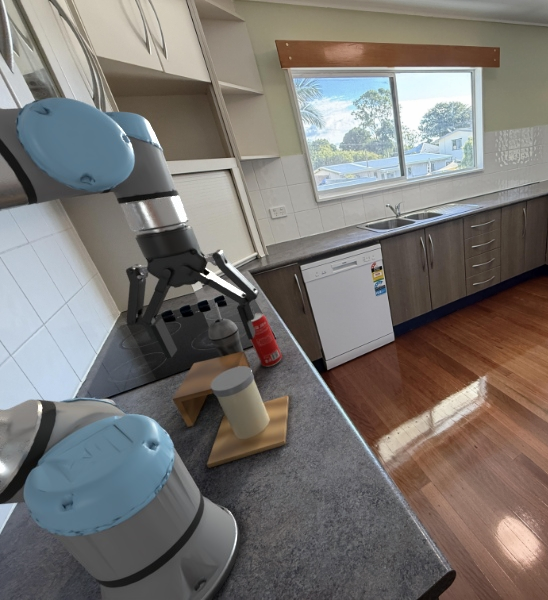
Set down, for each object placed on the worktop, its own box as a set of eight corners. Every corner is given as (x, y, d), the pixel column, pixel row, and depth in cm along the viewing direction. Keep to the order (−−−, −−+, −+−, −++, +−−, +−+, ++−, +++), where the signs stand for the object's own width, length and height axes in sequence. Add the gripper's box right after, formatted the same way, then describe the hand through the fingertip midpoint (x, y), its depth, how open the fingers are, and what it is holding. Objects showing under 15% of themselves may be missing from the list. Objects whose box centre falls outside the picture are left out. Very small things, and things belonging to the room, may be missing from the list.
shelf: (244, 411, 72) (232, 383, 68) (187, 427, 69) (172, 399, 66) (253, 375, 84) (243, 350, 81) (205, 388, 82) (193, 363, 79)
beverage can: (285, 354, 92) (270, 309, 86) (275, 368, 86) (258, 320, 80) (266, 355, 93) (250, 311, 87) (255, 369, 87) (237, 322, 81)
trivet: (285, 444, 61) (284, 440, 61) (208, 468, 58) (206, 464, 58) (289, 398, 74) (287, 395, 73) (226, 416, 71) (224, 412, 70)
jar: (268, 433, 63) (248, 383, 58) (229, 444, 62) (205, 395, 57) (272, 408, 70) (254, 362, 65) (237, 418, 68) (216, 372, 63)
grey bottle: (218, 375, 87) (189, 311, 78) (237, 360, 93) (212, 299, 85) (239, 377, 84) (211, 311, 76) (257, 361, 90) (233, 299, 82)
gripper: (251, 212, 54) (284, 320, 63) (86, 238, 50) (146, 351, 58) (243, 217, 48) (281, 337, 56) (51, 248, 43) (125, 374, 51)
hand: (213, 345), depth 57 cm, fingers open, 13 cm apart
